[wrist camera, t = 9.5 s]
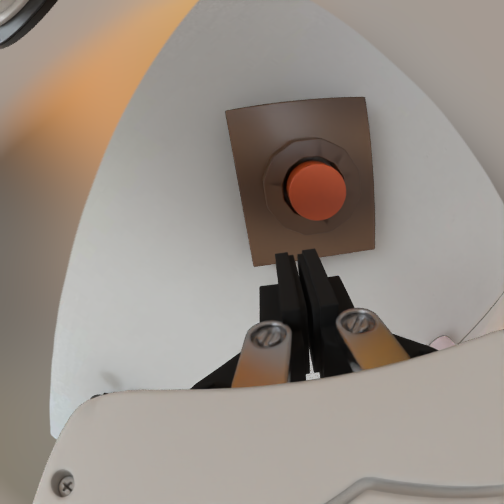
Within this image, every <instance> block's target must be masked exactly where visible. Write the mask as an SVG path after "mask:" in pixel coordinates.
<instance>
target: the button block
mask: <svg viewBox="0 0 504 504" xmlns="http://www.w3.org/2000/svg"><path fill="white" fill-rule="evenodd" d="M225 114H226V119H227V125H228V130H229V135H230V141H231V146H232V152H233V157H234V163H235V168H236V174H237V179H238V185H239V190H240V195H241V201H242V206H243V212H244V217H245V223H246V228H247V234H248V239H249V244H250V250H251V255H252V261H253V266H254V267H257V266H264V265H271V264H276V260H275V254H276V253H284V252H288V255H294V259H295V261H298V259H297V254H302V250H306V249H314V248H315V249H316V251H317V254H318V256H319V257H326V256H333V255H339V254H346V253H352V252H359V251H365V250H372V249H375V202H374V179H373V164H372V151H371V141H370V132H369V123H368V115H367V108H366V101H365V97H341V98H322V99H308V100H297V101H287V102H279V103H271V104H263V105H257V106H250V107H244V108H238V109H232V110H227V111H225ZM306 161H320V162H323V163H325V164H327V165H329V166H331V167H333V168H334V169H335V170H337V171H338V172H339V173H340V175H341V176H342V178H343V180H344V182H345V185H346V198H345V201H344V204H343V206H342V207H341V209H340V210H339V211H338V212H337V213H336V214H335V215H333V216H332V217H330V218H328V219H325V220H319V221H315V220H309V219H306V218H304V217H302V216H301V215H300V214H298V213H297V212H296V211H295V209H294V208H293V206H292V204H291V202H290V200H289V197H288V195H287V188H286V186H287V180H288V177H289V175H290V173H291V172H292V170H293V169H294V168H295V167H296V166H298V165H299V164H301V163H303V162H306Z"/></svg>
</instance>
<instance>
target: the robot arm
mask: <svg viewBox="0 0 504 504" xmlns="http://www.w3.org/2000/svg"><path fill="white" fill-rule="evenodd" d="M28 1H29V0H0V26H1V25H2V24H4V23H6V22H7V21H8V20H10V19H11V18H12V17H13V16H15V15H16V14H17V13H18V12H19V11H20V10H21V9H22V8H23V7H24V6H25V5H26V3H27V2H28ZM297 259H298V269H299V275H298V271H297V267H296V263H295V259H294V255H288V252H284V253H276V254H275V260H276V268H277V276H278V284H275V285H267V286H260V323H257V324H256V325H254V326H252V327H251V328H250V329H249V330H248V332H247V334H246V336H245V340H244V343H243V347H242V350H241V352H240V353H239V354H237V355H236V356H235V357H233V358H232V359H231V360H229V361H228V362H226V363H225V364H224V365H222V366H221V367H219V368H218V369H217V370H215V371H214V372H212V373H211V374H209V375H208V376H207V377H205V378H204V379H202V380H201V381H199V382H198V383H196V384H195V385H194V386H193V387H192V388H191V389H177V390H128V391H121V392H113V393H109V394H105V395H101V396H98V397H95V398H92V399H90V400H88V401H86V402H84V403H83V404H81V405H80V406H79V407H78V408H77V409H76V410H75V411H74V412H73V414H72V415H71V416H70V418H69V419H68V421H67V423H66V424H65V426H64V428H63V429H62V431H61V433H60V435H59V437H58V439H57V441H56V443H55V446H54V448H53V450H52V452H51V454H50V457H49V459H48V461H47V464H46V467H45V469H44V472H43V475H42V478H41V480H40V483H39V486H38V489H37V493H36V495H35V499H34V502H33V504H504V329H503V330H499V331H495V332H491V333H488V334H486V335H483V336H480V337H477V338H474V339H471V340H468V341H465V342H462V343H460V344H457V345H454V346H451V347H448V348H445V349H442V350H437V349H435V348H433V347H430V346H427V345H424V344H421V343H418V342H415V341H412V340H409V339H406V338H403V337H400V336H398V335H395V334H392V333H391V332H390V330H389V329H388V328H387V327H386V325H385V324H384V323H383V322H382V320H381V319H380V318H379V317H378V315H376V314H375V313H374V312H372V311H370V310H368V309H364V308H354V306H353V304H352V301H351V299H350V297H349V295H348V293H347V291H346V289H345V287H344V285H343V283H342V281H341V279H340V277H339V276H333V277H327V274H326V272H325V270H324V267H323V265H322V263H321V261H320V258H319V256H318V254H317V251H316V249H315V248H314V249H306V250H302V254H297ZM309 349H310V354H311V359H312V365H313V370H314V373H316V372H319V373H320V379H313V380H306V374H309V373H310V362H309Z"/></svg>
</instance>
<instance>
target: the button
mask: <svg viewBox="0 0 504 504" xmlns="http://www.w3.org/2000/svg"><path fill="white" fill-rule="evenodd" d="M286 188H287V195H288V197H289V200H290V202H291V204H292V206H293V208H294V209H295V211H296V212H297V213H298V214H300V215H301V216H302V217H304V218H306V219H309V220H315V221H319V220H325V219H328V218H330V217H332V216H333V215H335V214H336V213H337V212H338V211H339V210H340V209H341V207H342V206H343V204H344V201H345V198H346V185H345V182H344V180H343V178H342V176H341V175H340V173H339V172H338V171H337V170H335V169H334V168H333V167H331V166H329V165H327V164H325V163H323V162H320V161H306V162H303V163H301V164H299V165H298V166H296V167H295V168H294V169H293V170H292V172H291V173H290V175H289V177H288V180H287V186H286Z"/></svg>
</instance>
